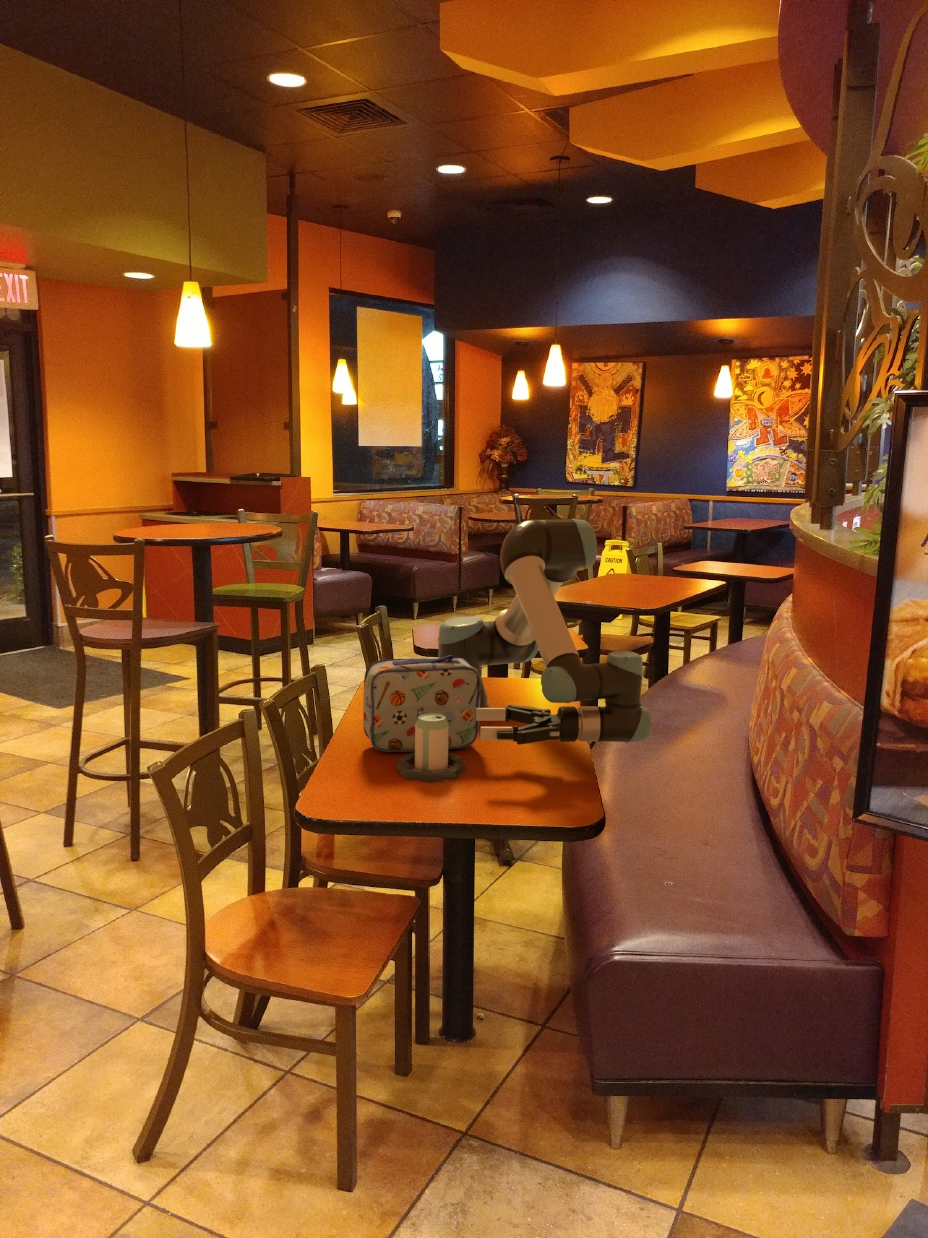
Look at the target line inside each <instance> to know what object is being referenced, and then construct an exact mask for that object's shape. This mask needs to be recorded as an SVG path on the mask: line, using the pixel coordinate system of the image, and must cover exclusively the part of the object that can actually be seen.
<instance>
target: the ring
mask: <svg viewBox="0 0 928 1238" xmlns="http://www.w3.org/2000/svg"><path fill="white" fill-rule="evenodd" d="M413 766H415V752H409V753H407V754H406V755H404V756H403V757H401V758H400V759H398V760H397V761H396V772H397V773H399V774H400V775H401V776H402V777H403V778H404V779H405V780H409V779H410V781H416V780H418V781H417V782H423V783H428V782H429V784H430V783H431V784H433V783H439V782H440V781H441V782H447V781H446V780H448V781H454V780H455V781H456V780H457V779H458V778H459V777H461V776H462V775H463V774H465V772H466V761H464V759H463V758H461V757H459V756H458V755H457V754H455V753H454V754H453V753H449V752H448V767H449V768H446V769H438V770H425V769H418V768H415V767H413ZM461 774H462V775H461ZM444 780H445V781H444Z"/></svg>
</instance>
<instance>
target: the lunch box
mask: <svg viewBox="0 0 928 1238" xmlns="http://www.w3.org/2000/svg"><path fill="white" fill-rule="evenodd" d="M480 683H481V680H480V674H479V672H478V671H477V670H476V669H475V668H474V667H472V666H471V665H470V663H469V662H468V661H466V660H465V659H462V658H454V656H452V655H448V656H446V657H442V658H438V657H437V658H387V659H379V660H376V661H374V662H372V663H371V664H370V665H368V667H367V668H366V669H365V673H364V679H363V695H362V696H363V707H362V708H363V709H362V711H363V712H362V714H363V715H362V716H363V720H362V721H363V722H362V723H363V730H364V731H363V732H364V734H365V736H366V737H367V738H368V739H369V741H370V744H371V745H372V747H373V748H374V749H375V750H377V751H380V752H387V753H392V752H393V753H394V752H395V753H415V724H416V722H417V721H418V719H419V718H418V717H419V716H420V715H423V714H440V715H443V716H445V717H446V718H445V720H446V721H447V723H448V750H456V749H464V748H468V747H470V746H471V745H473V744H474V743H475V742H476V740H477V738H478V735H479V730H480V728H479V727H480V721H476V708H480Z"/></svg>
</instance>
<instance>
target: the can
mask: <svg viewBox="0 0 928 1238" xmlns="http://www.w3.org/2000/svg"><path fill="white" fill-rule="evenodd" d="M418 718H419V719H418V721H417V722H416V724H415V752H414V753H415V765H414V768H418V769H425V770H438V769H446V768H448V767H449V765H448V753H449V749H448V723H447V721H446V720H445V718H446V717H445V716H443V715H440V714H423V715H420V716H419V717H418Z"/></svg>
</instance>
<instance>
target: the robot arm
mask: <svg viewBox="0 0 928 1238" xmlns="http://www.w3.org/2000/svg"><path fill="white" fill-rule="evenodd" d="M597 542H598V541H597V537H596V532H595V530H594V528H593V527H592V525H591V523H589V522H588V521H587V520H584V519H576V518H569V519H568V518H567V519H566V518H564V519H563V518H559V519H528V520H523V521H521V522H520V523H518V524H516V525H514V527H512V528H511V529H510V530H509V531H508V533H507V534H506V536H505V538H504V540H503V542H502V545H501V549H500V555H499V556H500V560H499V561H500V567H501V572H502V574H503V576H504V579H505V580H506V582H507V583H509V584H511V585H512V586H513V589H514V591H515V596H514V598H513V599H512V601H511V603H510V605H509V607H508V608H505V609H504V610H501V611H500V612H499V614H498V615H497V616H496V618H495V620H492V621H484V620H483V618H482V617H479V616H474V615H471V616H458V617H453V618H450V619H446V620H445V621H443V622H442V623H441V624H440V626H439V630H438V637H437V642H438V654H437V655H438V657H437V658H442V657H446V656H448V655H452V656H454V658H462V659H465V660H466V661H468V662H469V663H470V665H471V666H472V667H474V668H475V669H476V670H477V671H478V672H479V674H480V680H481V683H480V708H476V721H479V722H480V721H484V722H485V721H487V722H489V721H490V722H495V721H496V722H500V721H501V722H505V723H508V722H509V721H514V722H516V723H520V724H521V723H522V724H526V725H522V726H520V727H519V726H517V725H512V726H480V729H479V730H480V731H479V732H480V733H479V734H480V735H479V737H480V738H479V740H480V741H511V742H512V741H513V742H515V743H516V744H517V745H520V746H521V745H527V744H532V743H537V742H545V741H552V740H553V741H555V740H556V741H557V740H558V741H559V742H564V743H565V742H568V743H570V742H572V743H573V742H576V741H577V740H578V741H579V742H581V743H582V742H586V743H587V744H589V745H591V744H592V742H595V743H596V742H603V743H604V742H606V743H607V742H612V743H637V742H644V741H646V740H647V739H648V738H649V737H650V735H651V732H652V731H651V730H652V721H651V719H652V718H651V713H650V710H649V708H647V707H646V706H642V704H641V694H642V685H643V677H644V667H643V666H644V663H643V658H642V656H641V654H639V653H637V652H635V651H630V650H629V651H628V650H615V651H611V652H608V653H607V657H606V662H599V663H589V664H587V663H586V664H583V661H582V659H581V657H580V655H579V652H578V650H577V648H576V645H575V642H574V640H573V638H572V635H571V633H570V630H569V629H568V627H567V623H566V622H565V619H564V616H563V615H562V611H561V609H560V607H559V605H558V602H557V600H556V598H555V596H556V594H557V593H558V591H559V589H560V588H561V586H562V584H565V583H567V582H570V581H571V580H572V579H573V578H574V577H575V575H576V574H577V572H578V570H580V569H583V570H586V569H590V568H591V567H593V566H594V565H595V563H596V560H597V555H598V543H597ZM538 651H539V652H538ZM538 653H539V655H540V656H541V659H542V661H543V664H544V666H545V669H544V670H543V672H542V674H541V677H540V686H541V692H542V695H543V696H544V698H545V700H546V701H547V702H549V703H551V704H552V703H553V704H571V703H575V702H576V703H577V702H583V701H596V700H604V704H605V705H604V706H596V705H594V706H592V705H591V706H590V705H589V706H588V705H587V706H584V705H581V706H578V707H576V706H573V705H572V706H568V705H567V706H565V705H562V706H559V707H558V709H557V712H556V714H552V710H551V709H549V708H547V709H545V708H543V709H542V708H537V707H536V708H535V707H527V706H520V705H515V704H507V706H506V707H488V703H489V701H488V700H489V699H488V694H487V690H486V687H485V684H484V680H483V677H482V675H483V674H482V673H483V666H492V665H494V666H495V665H503V664H506V665H507V664H521V663H527V662H529V661H531V660H533V659H534V658H535V657H536V655H537V654H538Z"/></svg>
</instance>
